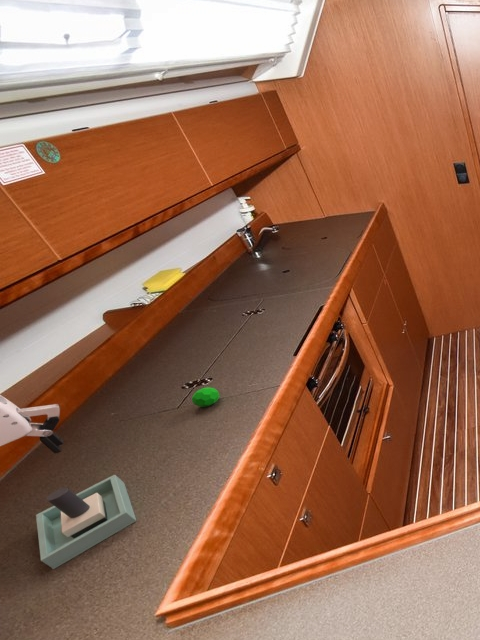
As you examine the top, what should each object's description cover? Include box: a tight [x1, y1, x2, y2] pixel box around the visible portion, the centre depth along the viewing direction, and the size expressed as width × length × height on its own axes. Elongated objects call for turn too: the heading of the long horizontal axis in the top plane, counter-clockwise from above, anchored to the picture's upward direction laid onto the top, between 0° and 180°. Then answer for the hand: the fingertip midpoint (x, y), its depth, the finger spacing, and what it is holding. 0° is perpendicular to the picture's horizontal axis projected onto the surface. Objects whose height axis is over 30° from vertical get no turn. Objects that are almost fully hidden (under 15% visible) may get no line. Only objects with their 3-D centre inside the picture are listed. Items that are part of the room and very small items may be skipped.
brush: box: [46, 487, 108, 538], centre depth 79 cm, size 7×5×9 cm
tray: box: [35, 474, 137, 570], centre depth 81 cm, size 15×11×3 cm
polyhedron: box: [191, 386, 220, 408], centre depth 108 cm, size 5×5×5 cm
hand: (15, 468), depth 73 cm, fingers open, 9 cm apart
